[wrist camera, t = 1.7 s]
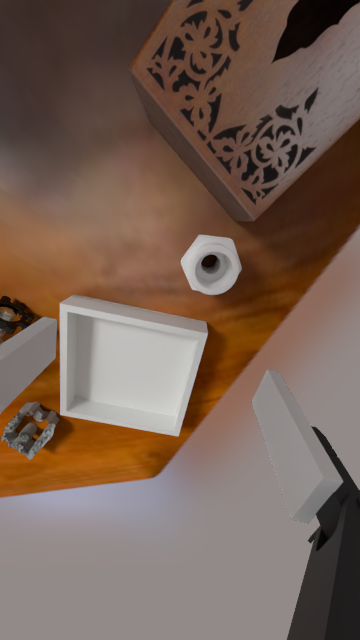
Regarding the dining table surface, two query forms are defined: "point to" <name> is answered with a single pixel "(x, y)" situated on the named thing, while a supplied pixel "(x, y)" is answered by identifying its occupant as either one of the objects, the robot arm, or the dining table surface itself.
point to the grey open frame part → (30, 429)
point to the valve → (12, 317)
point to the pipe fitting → (217, 275)
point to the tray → (127, 364)
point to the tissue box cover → (251, 90)
